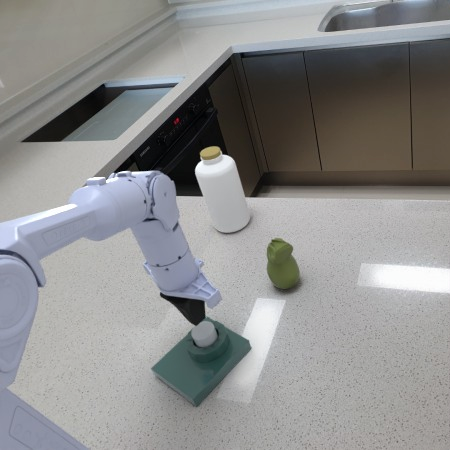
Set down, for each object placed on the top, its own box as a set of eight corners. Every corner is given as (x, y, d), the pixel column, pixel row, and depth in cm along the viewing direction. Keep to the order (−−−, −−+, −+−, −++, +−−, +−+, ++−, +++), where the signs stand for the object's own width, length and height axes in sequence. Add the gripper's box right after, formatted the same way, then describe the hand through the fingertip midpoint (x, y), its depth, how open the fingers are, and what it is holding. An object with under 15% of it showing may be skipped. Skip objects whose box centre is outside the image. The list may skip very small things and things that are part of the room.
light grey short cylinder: (205, 351, 70) (201, 343, 68) (190, 342, 72) (186, 333, 70) (222, 335, 72) (218, 326, 70) (207, 326, 74) (203, 317, 72)
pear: (288, 269, 86) (277, 227, 80) (308, 281, 83) (298, 238, 77) (266, 286, 84) (253, 245, 78) (286, 299, 80) (274, 257, 74)
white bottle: (208, 233, 100) (181, 161, 89) (224, 211, 106) (201, 141, 95) (242, 236, 97) (219, 162, 86) (257, 212, 103) (237, 141, 92)
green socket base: (196, 407, 66) (188, 391, 64) (155, 375, 72) (145, 360, 70) (251, 348, 73) (245, 331, 71) (209, 323, 79) (203, 308, 76)
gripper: (226, 250, 59) (250, 320, 67) (157, 221, 67) (187, 286, 75) (185, 285, 55) (216, 355, 63) (117, 249, 63) (153, 315, 71)
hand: (198, 320), depth 69 cm, fingers closed
